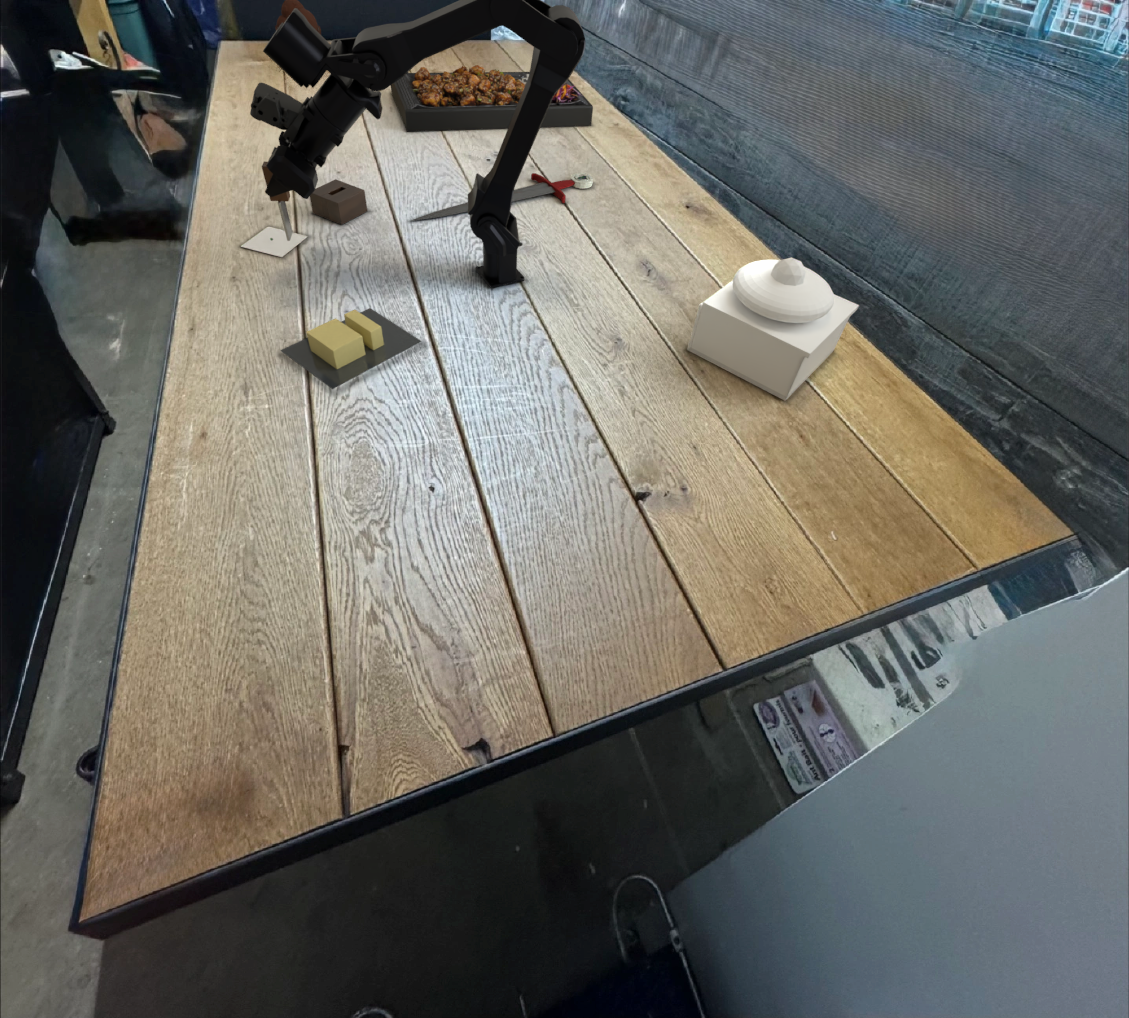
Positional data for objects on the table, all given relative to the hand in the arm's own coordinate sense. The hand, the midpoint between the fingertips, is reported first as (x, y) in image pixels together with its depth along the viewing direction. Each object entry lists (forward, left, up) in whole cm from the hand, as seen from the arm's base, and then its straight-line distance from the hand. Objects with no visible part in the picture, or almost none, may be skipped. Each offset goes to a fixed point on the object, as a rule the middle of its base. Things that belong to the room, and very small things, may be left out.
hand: (269, 191), depth 98 cm
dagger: (+11, -46, -13) cm, 49 cm away
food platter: (+57, -64, -13) cm, 87 cm away
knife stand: (+17, -14, -13) cm, 26 cm away
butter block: (-25, 0, -12) cm, 28 cm away
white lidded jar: (-50, -61, -13) cm, 80 cm away
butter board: (-25, -3, -13) cm, 28 cm away
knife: (-1, -1, -7) cm, 7 cm away
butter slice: (-24, -5, -12) cm, 27 cm away
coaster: (+10, 0, -13) cm, 17 cm away
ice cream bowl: (+94, -29, -13) cm, 99 cm away
